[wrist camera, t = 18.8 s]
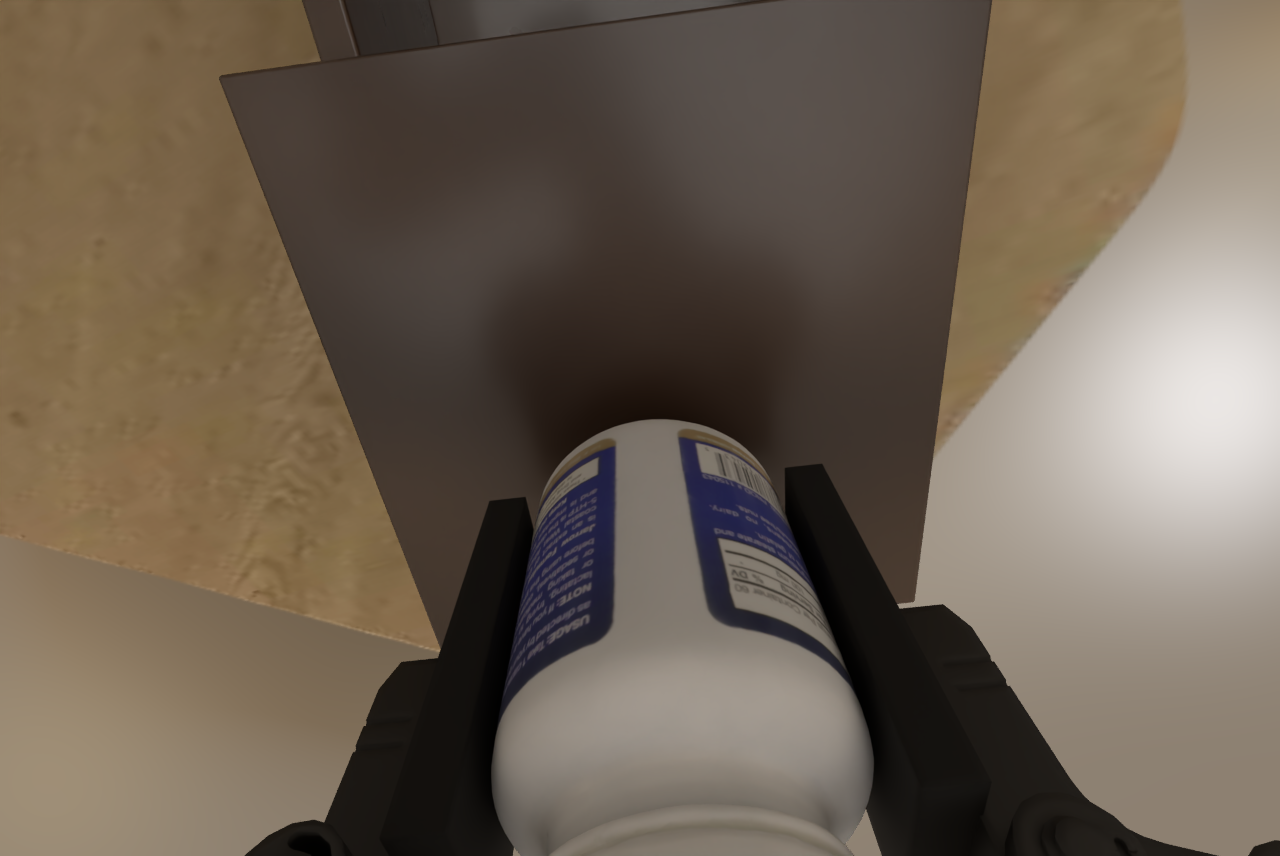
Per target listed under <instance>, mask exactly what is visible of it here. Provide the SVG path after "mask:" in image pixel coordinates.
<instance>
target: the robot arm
mask: <svg viewBox="0 0 1280 856" xmlns="http://www.w3.org/2000/svg"><path fill="white" fill-rule="evenodd" d="M785 514H786V517H787V520H788V522H789V525H790V527H791V530H792V532H793V535H794V538H795V540H796V542H797V545H798V547H799V550H800V552H801V555H802V557H803V560H804V562H805V565H806V567H807V570H808V572H809V575H810V577H811V580H812V582H813V585H814V587H815V590H816V592H817V595H818V597H819V600H820V602H821V605H822V608H823V610H824V613H825V615H826V618H827V620H828V623H829V625H830V627H831V630H832V633H833V635H834V638H835V641H836V643H837V646H838V648H839V650H840V652H841V655H842V658H843V661H844V663H845V666H846V668H847V670H848V673H849V675H850V678H851V680H852V683H853V686H854V688H855V691H856V694H857V696H858V699H859V702H860V705H861V708H862V711H863V714H864V717H865V720H866V723H867V726H868V729H869V734H870V738H871V743H872V749H873V756H874V773H873V783H872V789H871V793H870V797H869V801H868V804H867V806H866V810H867V813H868V816H869V818H870V822H871V825H872V828H873V831H874V834H875V836H876V839H877V843H878V846H879V848H880V851H881V854H882V856H1217V855H1212V854H1208V853H1203V852H1200V851H1195V850H1191V849H1186V848H1182V847H1178V846H1173V845H1169V844H1165V843H1162V842H1159V841H1156V840H1153V839H1150V838H1146V837H1143V836H1141V835H1139V834H1137V833H1135V832H1133V831H1131V830H1129V829H1127V828H1126V827H1125V826H1124V825H1123V824H1121V822H1119V820H1117V819H1116V818H1115V817H1114V816H1113V815H1111V814H1110V813H1108V812H1106V811H1105V810H1103V809H1101V808H1100V807H1098V806H1096V805H1095V804H1093V803H1091V802H1090V801H1089V800H1088V799H1087V798H1085V797H1084V796H1083V794H1082V793H1081V792H1080V791H1079V789H1078V788H1077V787H1076V786H1075V784H1074V783H1073V782H1072V781H1071V779H1070V778H1069V776H1068V775H1067V773H1066V772H1065V770H1064V768H1063V767H1062V766H1061V764H1060V762H1059V761H1058V759H1057V758H1056V756H1055V755H1054V753H1053V752H1052V750H1051V748H1050V747H1049V745H1048V744H1047V743H1046V741H1045V739H1044V738H1043V736H1042V735H1041V733H1040V732H1039V730H1038V728H1037V727H1036V726H1035V724H1034V722H1033V721H1032V719H1031V718H1030V716H1029V715H1028V713H1027V712H1026V710H1025V709H1024V707H1023V705H1022V704H1021V702H1020V701H1019V700H1018V698H1017V696H1016V695H1015V693H1014V691H1013V690H1012V688H1011V687H1010V686H1007V684H1006V679H1005V678H1004V676H1003V675H1002V673H1001V671H1000V670H999V668H998V667H997V665H996V664H995V662H992V661H991V659H990V655H989V653H988V652H987V650H986V648H985V647H984V645H983V644H982V642H981V641H980V639H979V638H978V636H977V635H976V633H975V631H974V630H973V628H972V627H971V626H970V625H968V624H967V623H966V622H965V621H963V620H962V619H961V618H960V617H958V616H957V615H956V614H954V613H953V612H952V611H951V610H950V609H948V608H947V607H946V606H945V605H943V604H942V605H932V606H923V607H913V608H903V609H899V607H898V605H897V603H896V601H895V599H894V597H893V595H892V594H891V592H890V590H889V588H888V586H887V584H886V582H885V580H884V579H883V577H882V575H881V573H880V571H879V569H878V567H877V565H876V564H875V562H874V560H873V558H872V556H871V554H870V552H869V550H868V549H867V547H866V545H865V543H864V541H863V539H862V537H861V535H860V534H859V532H858V530H857V528H856V526H855V524H854V522H853V520H852V519H851V517H850V515H849V513H848V511H847V509H846V507H845V505H844V504H843V502H842V500H841V498H840V496H839V494H838V492H837V490H836V489H835V487H834V485H833V483H832V481H831V479H830V477H829V475H828V474H827V472H826V470H825V468H824V466H823V464H813V465H804V466H795V467H787V468H785ZM533 532H534V528H533V524H532V520H531V516H530V512H529V508H528V504H527V500H526V497H519V498H510V499H501V500H492V501H489V504H488V507H487V510H486V513H485V516H484V519H483V522H482V525H481V528H480V531H479V534H478V537H477V540H476V543H475V546H474V550H473V553H472V556H471V559H470V562H469V565H468V568H467V571H466V574H465V577H464V580H463V583H462V586H461V589H460V592H459V595H458V598H457V602H456V605H455V608H454V611H453V614H452V617H451V620H450V623H449V626H448V629H447V632H446V635H445V638H444V641H443V644H442V647H441V650H440V654H439V657H438V658H435V659H426V660H417V661H407V662H401V663H400V664H399V666H398V667H397V668H396V669H395V670H394V672H393V673H392V674H391V675H390V676H389V678H388V679H387V680H386V681H385V683H384V684H383V685H382V686H381V687H380V689H379V690H378V693H377V695H376V697H375V700H374V702H373V705H372V707H371V710H370V712H369V714H368V717H367V719H366V721H367V724H366V726H364V727H363V729H362V732H361V734H360V736H359V739H358V741H357V744H356V751H355V752H353V754H352V756H351V758H350V761H349V764H348V766H347V768H346V771H345V773H344V776H343V778H342V781H341V783H340V785H339V788H338V790H337V793H336V795H335V798H334V800H333V803H332V805H331V808H330V810H329V812H328V815H327V817H326V820H325V822H324V823H323V822H320V821H317V820H310V821H304V822H298V823H292V824H290V825H288V826H286V827H284V828H282V829H280V830H278V831H276V832H274V833H272V834H271V835H269V836H267V837H266V838H265V839H264V840H262V841H261V842H260V843H259V844H258V845H257V846H255V847H254V848H253V849H252V850H251V851H249V852H248V853H247V854H246V855H245V856H513V850H514V846H513V845H512V843H511V842H510V840H509V838H508V837H507V835H506V834H505V832H504V830H503V828H502V826H501V824H500V821H499V819H498V816H497V812H496V809H495V806H494V801H493V796H492V783H491V764H492V757H493V749H494V743H495V736H496V730H497V723H498V717H499V712H500V707H501V702H502V697H503V691H504V686H505V681H506V675H507V670H508V665H509V659H510V654H511V649H512V643H513V638H514V633H515V628H516V623H517V618H518V612H519V607H520V602H521V596H522V591H523V586H524V582H525V576H526V570H527V565H528V559H529V554H530V549H531V544H532V538H533ZM1248 856H1280V841H1277V840H1274V841H1271V842H1268V843H1264V844H1261V845H1258V846H1255V847H1254V848H1253V849H1252V851H1251V852H1250V854H1249V855H1248Z"/></svg>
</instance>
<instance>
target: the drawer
mask: <svg viewBox="0 0 1280 856" xmlns="http://www.w3.org/2000/svg"><path fill="white" fill-rule="evenodd" d="M751 1H758V0H302V2H303V5H304V8H305V11H306V15H307V18H308V21H309V24H310V27H311V30H312V34H313V37H314V40H315V43H316V46H317V49H318V53H319V56H320V59H321V61H327V60H335V59H342V58H349V57H356V56H363V55H371V54H378V53H385V52H392V51H399V50H406V49H414V48H421V47H428V46H435V45H442V44H450V43H457V42H464V41H471V40H478V39H485V38H493V37H500V36H507V35H514V34H521V33H529V32H536V31H543V30H550V29H557V28H564V27H572V26H579V25H586V24H593V23H600V22H608V21H615V20H622V19H629V18H636V17H643V16H651V15H658V14H665V13H672V12H679V11H687V10H694V9H701V8H708V7H715V6H722V5H730V4H737V3H744V2H751Z"/></svg>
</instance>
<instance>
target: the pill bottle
mask: <svg viewBox="0 0 1280 856" xmlns="http://www.w3.org/2000/svg"><path fill="white" fill-rule="evenodd" d="M873 773H874V756H873V749H872V743H871V738H870V734H869V729H868V726H867V723H866V720H865V717H864V714H863V711H862V708H861V705H860V702H859V699H858V696H857V694H856V691H855V688H854V686H853V683H852V680H851V678H850V675H849V673H848V670H847V668H846V666H845V663H844V661H843V658H842V655H841V652H840V650H839V648H838V646H837V643H836V641H835V638H834V635H833V633H832V630H831V627H830V625H829V623H828V620H827V618H826V615H825V613H824V610H823V608H822V605H821V602H820V600H819V597H818V595H817V592H816V590H815V587H814V585H813V582H812V580H811V577H810V575H809V572H808V570H807V567H806V565H805V562H804V560H803V557H802V555H801V552H800V550H799V547H798V545H797V542H796V540H795V538H794V535H793V532H792V530H791V527H790V525H789V522H788V520H787V517H786V514H785V512H784V510H783V508H782V505H781V503H780V500H779V498H778V495H777V493H776V491H775V489H774V487H773V485H772V483H771V480H770V478H769V476H768V475H767V473H766V471H765V470H764V468H763V467H762V466H761V464H760V463H759V462H758V461H757V459H756V458H755V457H754V456H753V455H752V454H751V453H750V452H749V451H748V450H747V449H746V448H744V447H743V446H742V445H741V444H740V443H738V442H737V441H735V440H734V439H732V438H730V437H729V436H727V435H725V434H723V433H721V432H719V431H716V430H714V429H712V428H709V427H706V426H703V425H699V424H695V423H690V422H685V421H679V420H668V419H651V420H641V421H635V422H631V423H626V424H622V425H619V426H616V427H613V428H610V429H608V430H605V431H603V432H601V433H599V434H597V435H595V436H593V437H591V438H590V439H588V440H587V441H585V442H584V443H582V444H581V445H580V446H578V447H577V448H576V449H574V450H573V451H572V452H571V453H570V454H569V455H568V456H567V457H566V458H565V459H564V460H563V461H562V462H561V463H560V464H559V466H558V467H557V468H556V470H555V471H554V473H553V474H552V476H551V477H550V479H549V481H548V483H547V485H546V487H545V489H544V492H543V494H542V498H541V501H540V505H539V509H538V513H537V517H536V522H535V528H534V532H533V538H532V544H531V549H530V554H529V559H528V565H527V570H526V576H525V582H524V586H523V591H522V596H521V602H520V607H519V612H518V618H517V623H516V628H515V633H514V638H513V643H512V649H511V654H510V659H509V665H508V670H507V675H506V681H505V686H504V691H503V697H502V702H501V707H500V712H499V717H498V723H497V730H496V736H495V743H494V749H493V757H492V764H491V783H492V796H493V801H494V806H495V809H496V812H497V816H498V819H499V821H500V824H501V826H502V828H503V830H504V832H505V834H506V835H507V837H508V838H509V840H510V842H511V843H512V845H513V846H514V848H515V849H516V850H517V851H518V853H519V854H520V855H521V856H854V855H853V853H852V852H851V851H850V850H849V849H848V847H847V846H846V845H845V844H846V842H847V841H848V840H849V838H850V837H851V836H852V834H853V833H854V831H855V829H856V828H857V826H858V824H859V822H860V821H861V819H862V817H863V814H864V812H865V809H866V806H867V804H868V801H869V797H870V793H871V789H872V783H873Z"/></svg>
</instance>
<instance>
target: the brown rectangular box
mask: <svg viewBox="0 0 1280 856" xmlns="http://www.w3.org/2000/svg"><path fill="white" fill-rule="evenodd" d="M991 5H992V0H758V1H751V2H744V3H737V4H730V5H722V6H715V7H708V8H701V9H694V10H687V11H679V12H672V13H665V14H658V15H651V16H643V17H636V18H629V19H622V20H615V21H608V22H600V23H593V24H586V25H579V26H572V27H564V28H557V29H550V30H543V31H536V32H529V33H521V34H514V35H507V36H500V37H493V38H485V39H478V40H471V41H464V42H457V43H450V44H442V45H435V46H428V47H421V48H414V49H406V50H399V51H392V52H385V53H378V54H371V55H363V56H356V57H349V58H342V59H335V60H327V61H320V62H313V63H306V64H299V65H292V66H284V67H277V68H270V69H263V70H256V71H248V72H241V73H234V74H227V75H221V76H220V77H219V80H220V82H221V85H222V88H223V90H224V93H225V95H226V98H227V100H228V103H229V106H230V108H231V111H232V113H233V116H234V118H235V121H236V124H237V126H238V129H239V131H240V134H241V136H242V139H243V142H244V144H245V147H246V149H247V152H248V154H249V157H250V160H251V162H252V165H253V167H254V170H255V172H256V175H257V178H258V180H259V183H260V185H261V188H262V190H263V193H264V196H265V198H266V201H267V203H268V206H269V208H270V211H271V214H272V216H273V219H274V221H275V224H276V226H277V229H278V232H279V234H280V237H281V239H282V242H283V244H284V247H285V250H286V252H287V255H288V257H289V260H290V262H291V265H292V268H293V270H294V273H295V275H296V278H297V280H298V283H299V286H300V288H301V291H302V293H303V296H304V298H305V301H306V304H307V306H308V309H309V311H310V314H311V316H312V319H313V322H314V324H315V327H316V329H317V332H318V334H319V337H320V339H321V342H322V345H323V347H324V350H325V352H326V355H327V357H328V360H329V363H330V365H331V368H332V370H333V373H334V375H335V378H336V381H337V383H338V386H339V388H340V391H341V393H342V396H343V399H344V401H345V404H346V406H347V409H348V411H349V414H350V417H351V419H352V422H353V424H354V427H355V429H356V432H357V435H358V437H359V440H360V442H361V445H362V447H363V450H364V453H365V455H366V458H367V460H368V463H369V465H370V468H371V471H372V473H373V476H374V478H375V481H376V483H377V486H378V489H379V491H380V494H381V496H382V499H383V501H384V504H385V507H386V509H387V512H388V514H389V517H390V519H391V522H392V525H393V527H394V530H395V532H396V535H397V537H398V540H399V543H400V545H401V548H402V550H403V553H404V555H405V558H406V561H407V563H408V566H409V568H410V571H411V573H412V576H413V579H414V581H415V584H416V586H417V589H418V591H419V594H420V597H421V599H422V602H423V604H424V607H425V609H426V612H427V615H428V617H429V620H430V622H431V625H432V627H433V630H434V633H435V635H436V638H437V640H438V643H439V645H440V648H441V647H442V644H443V641H444V638H445V635H446V632H447V629H448V626H449V623H450V620H451V617H452V614H453V611H454V608H455V605H456V602H457V598H458V595H459V592H460V589H461V586H462V583H463V580H464V577H465V574H466V571H467V568H468V565H469V562H470V559H471V556H472V553H473V550H474V546H475V543H476V540H477V537H478V534H479V531H480V528H481V525H482V522H483V519H484V516H485V513H486V510H487V507H488V504H489V501H492V500H501V499H510V498H519V497H526V500H527V504H528V508H529V512H530V516H531V520H532V524H533V528H535V522H536V517H537V513H538V509H539V505H540V501H541V498H542V494H543V492H544V489H545V487H546V485H547V483H548V481H549V479H550V477H551V476H552V474H553V473H554V471H555V470H556V468H557V467H558V466H559V464H560V463H561V462H562V461H563V460H564V459H565V458H566V457H567V456H568V455H569V454H570V453H571V452H572V451H573V450H574V449H576V448H577V447H578V446H580V445H581V444H582V443H584V442H585V441H587V440H588V439H590V438H591V437H593V436H595V435H597V434H599V433H601V432H603V431H605V430H608V429H610V428H613V427H616V426H619V425H622V424H626V423H631V422H635V421H641V420H651V419H668V420H679V421H685V422H690V423H695V424H699V425H703V426H706V427H709V428H712V429H714V430H716V431H719V432H721V433H723V434H725V435H727V436H729V437H730V438H732V439H734V440H735V441H737V442H738V443H740V444H741V445H742V446H743V447H744V448H746V449H747V450H748V451H749V452H750V453H751V454H752V455H753V456H754V457H755V458H756V459H757V461H758V462H759V463H760V464H761V466H762V467H763V468H764V470H765V471H766V473H767V475H768V476H769V478H770V480H771V483H772V485H773V487H774V489H775V491H776V493H777V495H778V498H779V500H780V503H781V505H782V508H783V510H784V512H785V468H787V467H795V466H804V465H813V464H823V466H824V468H825V470H826V472H827V474H828V475H829V477H830V479H831V481H832V483H833V485H834V487H835V489H836V490H837V492H838V494H839V496H840V498H841V500H842V502H843V504H844V505H845V507H846V509H847V511H848V513H849V515H850V517H851V519H852V520H853V522H854V524H855V526H856V528H857V530H858V532H859V534H860V535H861V537H862V539H863V541H864V543H865V545H866V547H867V549H868V550H869V552H870V554H871V556H872V558H873V560H874V562H875V564H876V565H877V567H878V569H879V571H880V573H881V575H882V577H883V579H884V580H885V582H886V584H887V586H888V588H889V590H890V592H891V594H892V595H893V597H894V599H895V601H896V603H897V604H899V603H909V602H914V600H915V593H916V584H917V576H918V569H919V562H920V554H921V546H922V538H923V531H924V523H925V514H926V507H927V499H928V492H929V484H930V477H931V469H932V461H933V453H934V446H935V438H936V430H937V422H938V415H939V407H940V399H941V392H942V384H943V376H944V368H945V361H946V353H947V345H948V337H949V330H950V322H951V314H952V307H953V299H954V291H955V283H956V276H957V268H958V260H959V252H960V245H961V237H962V229H963V221H964V214H965V206H966V198H967V191H968V183H969V175H970V167H971V160H972V152H973V144H974V136H975V129H976V121H977V113H978V105H979V98H980V90H981V82H982V75H983V67H984V59H985V51H986V44H987V36H988V28H989V20H990V13H991Z"/></svg>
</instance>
